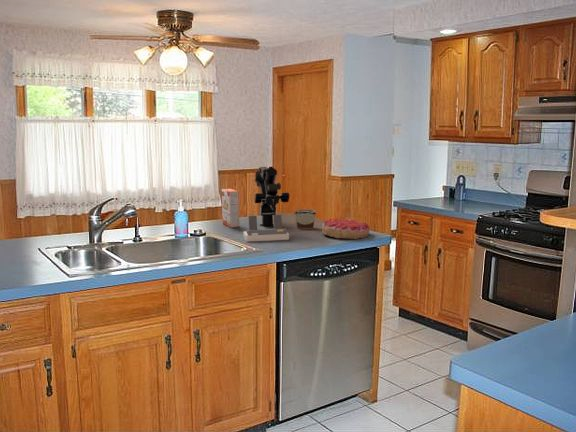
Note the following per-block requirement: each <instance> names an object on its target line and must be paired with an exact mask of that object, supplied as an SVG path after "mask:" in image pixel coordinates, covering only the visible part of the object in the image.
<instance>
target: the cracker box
mask: <svg viewBox="0 0 576 432" xmlns="http://www.w3.org/2000/svg"><path fill="white" fill-rule="evenodd" d="M239 199H240V197H239V191H238V190H235V189H233V188H222V189H221V206H222V207H221V208H222V209H221V210H222V224H223V225H225V226H227V227H229V228H231V229H233V228H240V200H239Z"/></svg>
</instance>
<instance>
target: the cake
mask: <svg viewBox="0 0 576 432" xmlns="http://www.w3.org/2000/svg"><path fill="white" fill-rule="evenodd" d="M370 228H371V227H370V226H369V224H367V223H366V222H362V221H359V220H355V219H354V220H353V219H350V218H348V219H345V218H341V219H340V218H338V217H336V218H330V219H327V220H325V221H323V223H322V226H321V231H322V233H323V234H324V235H326V236H328V237H331V238H335V239H337V240H338V239H347V240H349V239H351V240H353V239H354V240H357V239H358V240H359V239H360V238H361V239H363V238H367V237H368V236H369V234H370Z"/></svg>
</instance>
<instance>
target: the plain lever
mask: <svg viewBox="0 0 576 432" xmlns="http://www.w3.org/2000/svg"><path fill="white" fill-rule="evenodd" d="M248 230H258V220H257V215H249V216H248Z"/></svg>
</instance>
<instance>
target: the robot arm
mask: <svg viewBox="0 0 576 432" xmlns="http://www.w3.org/2000/svg"><path fill="white" fill-rule="evenodd" d="M277 176H278V170H277V169H276V168H274V167H273V166H268V167H267V166H260V167H258V170H257V171H256V172H255V174H254V182H255V183H256V186H257V187H259V190H260V192H259V193H258V192H257V193H255V195H254V203H255V204H260V207H259V216H261V223H260V226H261V227H266V228H267V227H274V222H273V215H277V204H279V203H280V202H282V203H288V202H289V200H290V196H291V195H290V193H289V192H287V191H286V192H281V194H279V190H281V189H282V186H281V182H278V183H276V180H277Z"/></svg>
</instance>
